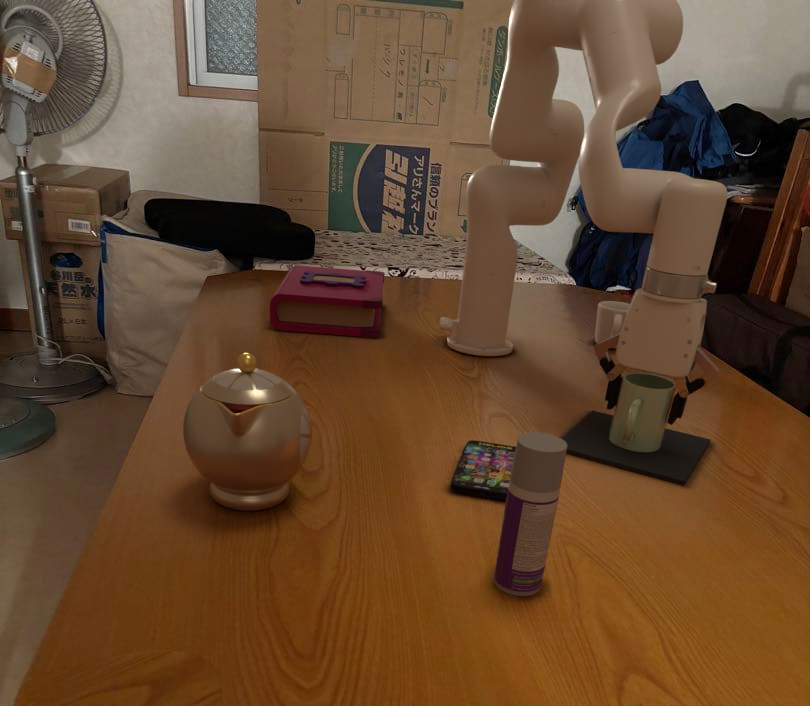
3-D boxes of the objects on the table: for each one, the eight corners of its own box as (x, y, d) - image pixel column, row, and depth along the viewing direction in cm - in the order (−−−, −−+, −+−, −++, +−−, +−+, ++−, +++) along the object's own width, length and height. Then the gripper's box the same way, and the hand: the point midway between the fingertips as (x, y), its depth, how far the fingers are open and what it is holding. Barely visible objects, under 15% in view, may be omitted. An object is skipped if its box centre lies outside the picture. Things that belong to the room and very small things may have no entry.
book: (269, 330, 147) (269, 289, 143) (288, 297, 171) (288, 261, 168) (379, 338, 148) (382, 298, 144) (383, 304, 172) (385, 269, 168)
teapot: (303, 531, 82) (306, 381, 73) (173, 523, 81) (160, 371, 73) (317, 461, 97) (321, 331, 89) (208, 454, 96) (201, 322, 88)
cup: (631, 357, 151) (641, 316, 147) (590, 351, 152) (599, 310, 148) (629, 343, 160) (638, 303, 156) (590, 338, 161) (598, 299, 157)
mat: (552, 449, 107) (553, 445, 106) (591, 413, 121) (592, 410, 120) (684, 485, 100) (685, 481, 99) (709, 443, 114) (710, 439, 113)
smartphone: (448, 484, 92) (467, 438, 105) (447, 491, 92) (466, 445, 105) (513, 495, 91) (525, 448, 103) (512, 502, 91) (524, 454, 104)
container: (489, 569, 78) (511, 430, 70) (534, 570, 78) (561, 432, 71) (498, 596, 74) (522, 451, 66) (545, 597, 74) (575, 453, 67)
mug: (616, 428, 114) (630, 369, 110) (665, 440, 111) (681, 380, 107) (596, 449, 106) (610, 386, 102) (648, 463, 104) (664, 399, 99)
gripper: (747, 292, 99) (710, 421, 107) (614, 269, 105) (589, 393, 114) (738, 302, 93) (699, 438, 101) (598, 277, 100) (573, 406, 108)
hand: (641, 413), depth 108 cm, fingers open, 8 cm apart
